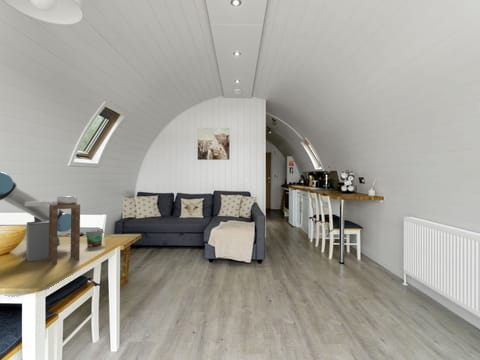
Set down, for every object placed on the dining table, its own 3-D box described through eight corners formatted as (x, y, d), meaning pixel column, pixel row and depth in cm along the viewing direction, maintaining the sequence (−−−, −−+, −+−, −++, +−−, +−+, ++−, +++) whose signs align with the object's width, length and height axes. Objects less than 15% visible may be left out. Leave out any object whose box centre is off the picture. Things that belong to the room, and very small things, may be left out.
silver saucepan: (23, 205, 128) (23, 197, 128) (74, 203, 143) (74, 195, 143) (26, 206, 121) (26, 198, 121) (78, 204, 137) (79, 196, 137)
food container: (93, 248, 159) (94, 232, 159) (85, 247, 160) (85, 232, 160) (107, 243, 171) (108, 228, 171) (99, 243, 173) (100, 228, 173)
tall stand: (48, 260, 135) (49, 204, 135) (74, 255, 144) (75, 202, 144) (52, 264, 128) (53, 205, 128) (79, 259, 137) (80, 204, 137)
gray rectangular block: (26, 258, 138) (26, 222, 138) (48, 254, 145) (49, 220, 145) (28, 261, 132) (28, 224, 132) (51, 257, 140) (52, 222, 140)
